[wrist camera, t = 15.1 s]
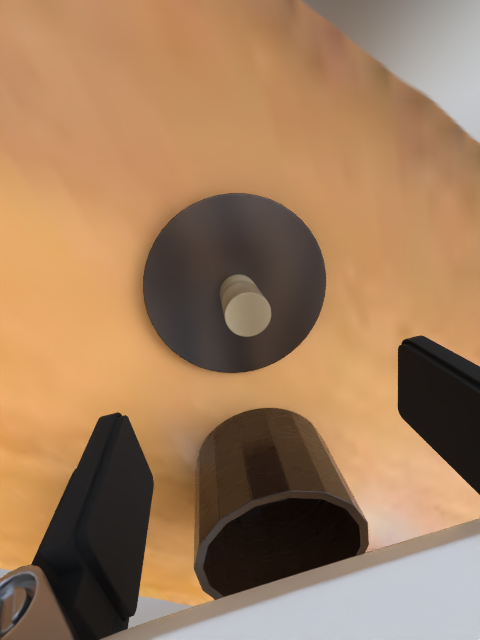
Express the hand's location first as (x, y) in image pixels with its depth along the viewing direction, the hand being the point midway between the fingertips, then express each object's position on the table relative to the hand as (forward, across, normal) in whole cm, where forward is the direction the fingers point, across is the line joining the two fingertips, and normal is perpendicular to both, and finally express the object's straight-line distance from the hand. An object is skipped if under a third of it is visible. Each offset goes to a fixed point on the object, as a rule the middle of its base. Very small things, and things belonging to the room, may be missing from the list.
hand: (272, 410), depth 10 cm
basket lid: (+16, -1, 0) cm, 16 cm away
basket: (+16, 0, +20) cm, 25 cm away
